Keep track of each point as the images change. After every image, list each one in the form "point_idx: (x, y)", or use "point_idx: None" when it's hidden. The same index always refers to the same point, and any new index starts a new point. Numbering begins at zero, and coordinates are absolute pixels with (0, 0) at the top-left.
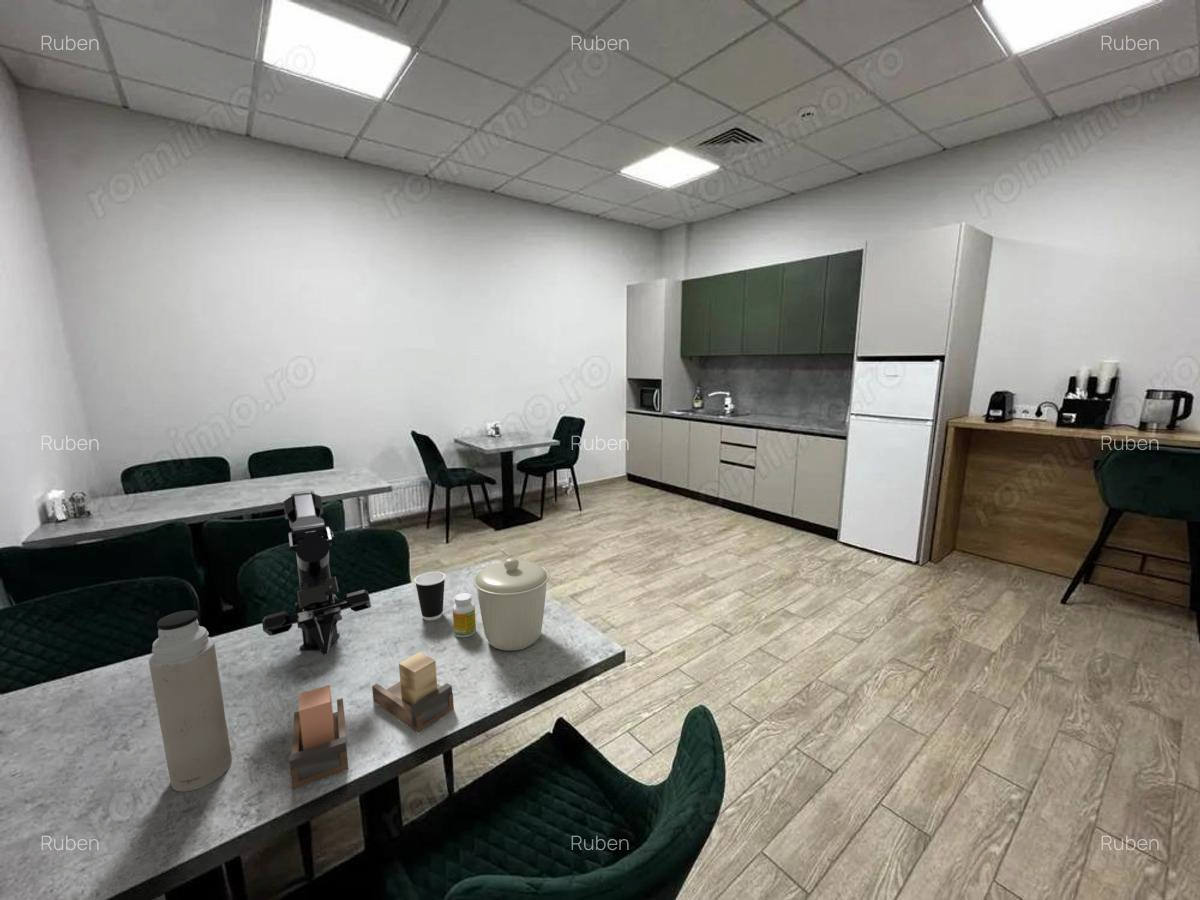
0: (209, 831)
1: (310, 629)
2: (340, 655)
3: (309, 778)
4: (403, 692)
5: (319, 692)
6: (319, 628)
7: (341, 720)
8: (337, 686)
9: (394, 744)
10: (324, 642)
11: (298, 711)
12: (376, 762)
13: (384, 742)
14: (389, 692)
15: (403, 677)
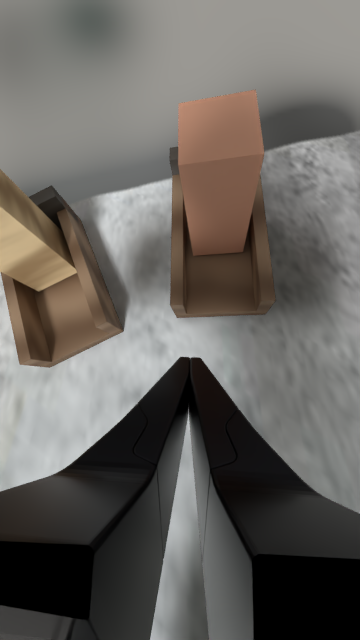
0: (350, 153)
1: (288, 482)
2: (173, 634)
3: None
4: (55, 247)
5: (206, 141)
6: (208, 588)
7: (176, 233)
8: (187, 435)
9: (114, 213)
10: (181, 381)
11: (265, 299)
12: (142, 190)
13: (126, 221)
14: (81, 279)
15: (22, 215)
